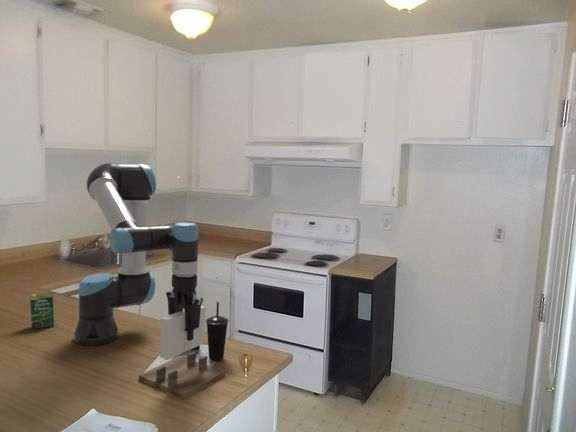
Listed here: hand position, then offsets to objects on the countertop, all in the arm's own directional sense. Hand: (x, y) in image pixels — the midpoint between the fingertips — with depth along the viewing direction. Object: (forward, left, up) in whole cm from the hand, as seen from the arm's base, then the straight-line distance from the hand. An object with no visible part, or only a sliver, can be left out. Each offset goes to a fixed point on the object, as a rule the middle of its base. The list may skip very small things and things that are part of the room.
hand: (183, 348), depth 141 cm
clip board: (0, 0, -10) cm, 10 cm away
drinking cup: (-1, +17, -10) cm, 20 cm away
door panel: (0, 0, -1) cm, 1 cm away
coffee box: (-72, -3, -10) cm, 73 cm away
